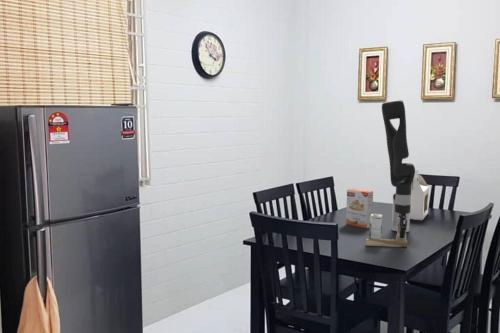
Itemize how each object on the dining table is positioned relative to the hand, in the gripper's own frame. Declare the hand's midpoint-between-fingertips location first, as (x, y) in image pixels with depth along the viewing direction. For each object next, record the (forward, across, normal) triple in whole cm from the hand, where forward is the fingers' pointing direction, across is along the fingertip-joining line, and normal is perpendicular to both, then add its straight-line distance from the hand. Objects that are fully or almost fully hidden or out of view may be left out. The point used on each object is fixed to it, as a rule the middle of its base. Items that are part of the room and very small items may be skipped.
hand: (401, 236), depth 252 cm
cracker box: (+3, -34, -18) cm, 38 cm away
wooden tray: (+3, 0, -8) cm, 9 cm away
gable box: (+3, -67, +19) cm, 70 cm away
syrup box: (+3, +3, -13) cm, 14 cm away
